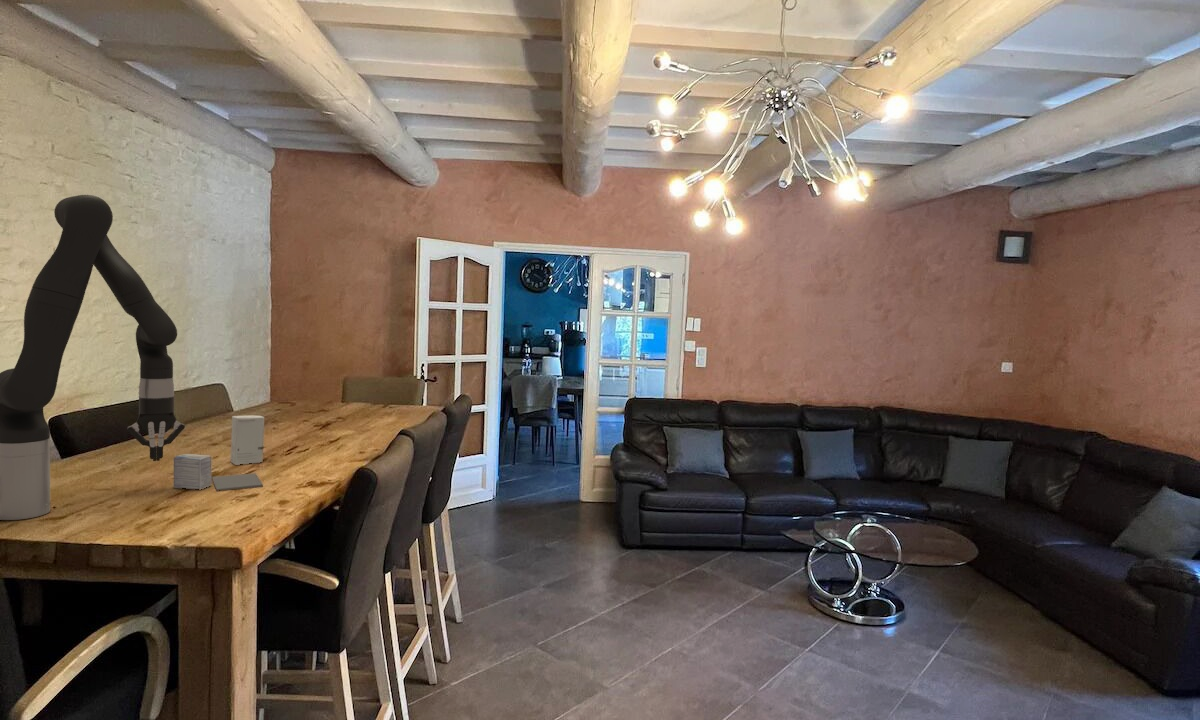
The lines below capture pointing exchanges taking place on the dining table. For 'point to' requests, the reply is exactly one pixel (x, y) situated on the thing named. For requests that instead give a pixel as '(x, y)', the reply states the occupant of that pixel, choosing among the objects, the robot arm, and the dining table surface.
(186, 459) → the medicine box
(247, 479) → the rubber mat
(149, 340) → the robot arm
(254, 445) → the skincare box
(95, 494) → the dining table surface
